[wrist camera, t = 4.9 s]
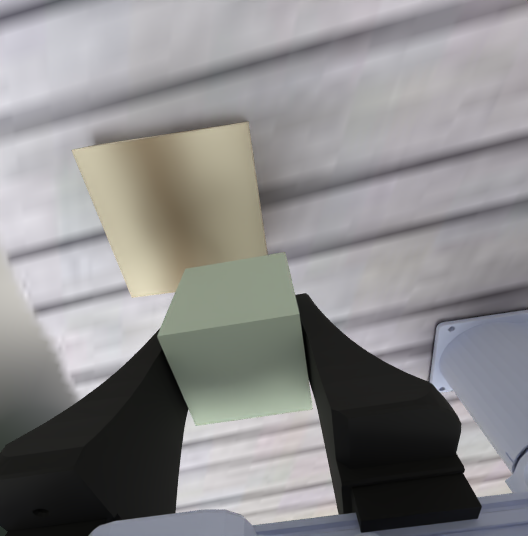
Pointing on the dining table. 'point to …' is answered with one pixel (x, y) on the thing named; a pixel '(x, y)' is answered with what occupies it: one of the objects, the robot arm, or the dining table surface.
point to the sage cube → (237, 341)
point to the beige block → (176, 202)
